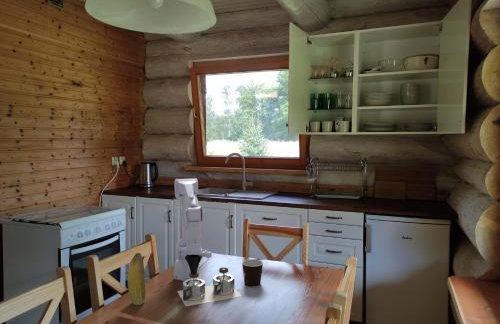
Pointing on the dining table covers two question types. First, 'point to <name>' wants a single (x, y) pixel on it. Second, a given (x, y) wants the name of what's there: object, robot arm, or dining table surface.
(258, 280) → the coffee mug
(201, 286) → the near pot
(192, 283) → the near plunger
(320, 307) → the dining table surface
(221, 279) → the cylinder
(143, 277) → the vegetable
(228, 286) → the far pot
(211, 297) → the serving board
